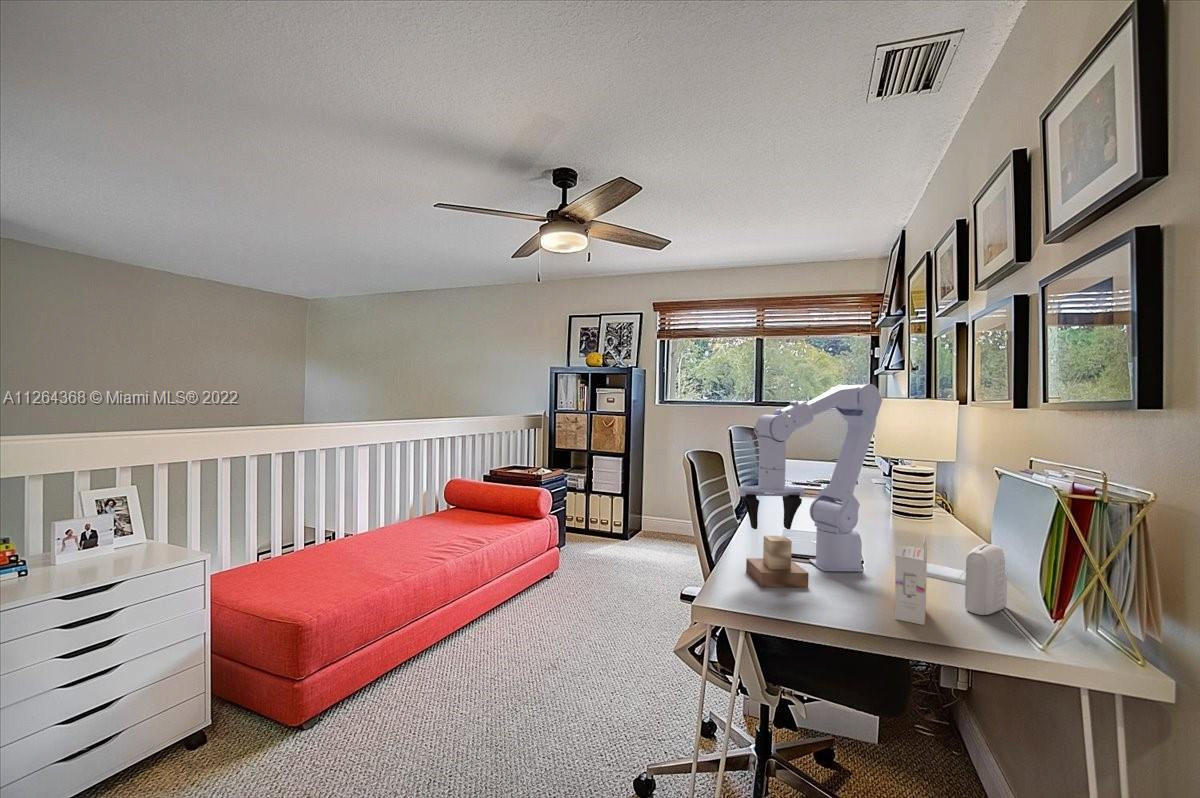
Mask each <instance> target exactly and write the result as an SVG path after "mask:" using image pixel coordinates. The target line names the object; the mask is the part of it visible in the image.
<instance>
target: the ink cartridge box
mask: <svg viewBox="0 0 1200 798" xmlns="http://www.w3.org/2000/svg"><path fill="white" fill-rule="evenodd" d="M923 535H924V536H923V544H922V545H923V548H919V547H913V546H906V545H897V549H896V552H895V558H894V559H895V571H894V572H895V585H894V586H895V595H894V596H895V599H894V603H895V605H894V619H895V620H896V621H897V620H898V621H903V622H906V623H911V624H915V625H916V624H917V625H921V626H925V625H926V606H927V582H928V581H927V577H928V576H927V563H928V545H927V535H926V533H924V534H923Z"/></svg>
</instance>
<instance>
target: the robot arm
mask: <svg viewBox="0 0 1200 798" xmlns="http://www.w3.org/2000/svg"><path fill="white" fill-rule="evenodd" d="M882 403H883V398H882V396H881V393H880V391H879V389H878V388H877V386H876V385H874V384H872V383H867V384H849V385H848V384H837V385H836V386H833V387H830V388H829V389H828V390H827V391H825V392H823V393H822V394H820V395H818V396H816V397H815V398H812V399H811V400H809V401H808V402H805V401H802V400H801V401H799V400H792V401H790V402H789V404H790V405H787V406H785V407H783V408H782V409H780V408H778V409H775V410H774V412H773V413H772V414H763V415H761V416H760V417H759V418H758V419H757V420H756V422H755V425H754V426H753V432H754V435H756V438H757V444H758V449H759V450H758V485H747V486H746V485H744V486H742V485H741V486H738V496H740V497H741V499H742V501H743V504H744V506H745V508H746V512H747V514H748V519H749V523H750V527H751V529H753V530H757V529H758V523H759V522H758V516H759V515H758V514H759V512H758V511H759V505H760V500H759V499H758V498H757V497H782V505H783V528H785V529H786V530H791V528H792V525H793V520H794V517H795V515H796V513H797V511H798V509H799V507H800V506H801V505H802V503H803V500H802V498H805V491H806V490H805V489H806V488H804V487H802V486H786V461H787V460H786V459H787V458H786V457H787V456H786V455H787V453H786V452H787V451H786V450H787V447H786V446H787V441H788V440H789V439H790V438H791V436H792V435H793V433H794V432H796V431H798V430H800V429H802V428H804V427H805V426H808V425H810V424H811V423H812V422H813V420H814V417H815V416H817V415H820V414H821V413H824V412H826V411H829V410H832V409H835V410H836V411H837V412H838V414H839V415H840V416H841V417H842V419H843V420H844V421H846V422H847V424H848V428H847V431H846V434H845V438H844V440H843V444H842V446H841V448H840V452H839V455H838V458H837V461H836V463H835V468H834V470H833V473H832V475H831V478H830V481H829V485H827V486H825V487H824V488H822V489H820V490H818V493H817V495H816V497H815V498H814V500H813V501H812V502H811V504H810V506H809V515H810V518H811V520H812V521H813V522H814V527H816V535H815V536H816V541H815V545H816V546H815V558H809V559H808V561H809V562H810V563H811V564H813V565H814V566H816V567H817V568H818V569H820V570H821V571H823V572H863V571H864V569H863V568H862V554H863V553H862V550H863V549H862V547H863V546H862V537H861V535H860V533H859V532H858V531H857V530H855V528H856V526H857V524H858V522H859V508H860V506H861V504H860V501H858V499H857V498H856V496H855V495H854V491H855V489H856V486H857V482H858V479H859V476H860V473H861V471H862V467H863V465H864V461H865V459H866V456H867V452H868V451H869V447H870V443H871V441H872V438H873V435H874V432H875V429H876V425H877V417H878V414H879V411H880V408H881V406H882Z"/></svg>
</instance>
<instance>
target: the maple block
mask: <svg viewBox="0 0 1200 798" xmlns="http://www.w3.org/2000/svg"><path fill="white" fill-rule="evenodd" d="M792 542H793V541H792V540H790V539H789V538H788V537H787V536H785V535H763V544H762V545H763V547H762V549H763V550H762V553H763V556H762V558H763V563H764V564H765V565H767V566H768V567H769V568H770V569H791V560H792V546H793V545H792Z"/></svg>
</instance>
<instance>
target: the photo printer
mask: <svg viewBox="0 0 1200 798" xmlns="http://www.w3.org/2000/svg"><path fill="white" fill-rule="evenodd" d="M1002 548H1003V547H1001V546H999V545H997V544H992V543H983V544H980V545H978V546H975V547H974V548H973V549H972V550H970V551H969V552H968V554H967V555H966V559H965V571H966V581H965V584H964V587H965V588H964V608H965V609H966V610H967V611H968V612H970V613H972V614H974V615H979V616H988V615H991V614H994V613H996V612H998V611H999V612H1000V611H1002V610H1003V609H1005V608H1006V607H1007V604H1008V577H1007V578H1006V574H1005V557H1004V553H1003V550H1002ZM1004 607H1005V608H1004Z"/></svg>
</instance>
